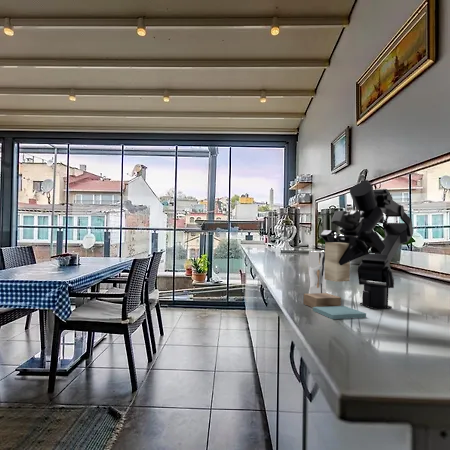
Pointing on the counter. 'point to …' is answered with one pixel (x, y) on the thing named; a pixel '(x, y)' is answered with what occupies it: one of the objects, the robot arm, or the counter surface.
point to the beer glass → (317, 272)
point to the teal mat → (339, 312)
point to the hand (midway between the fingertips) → (333, 263)
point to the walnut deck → (321, 300)
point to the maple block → (336, 262)
